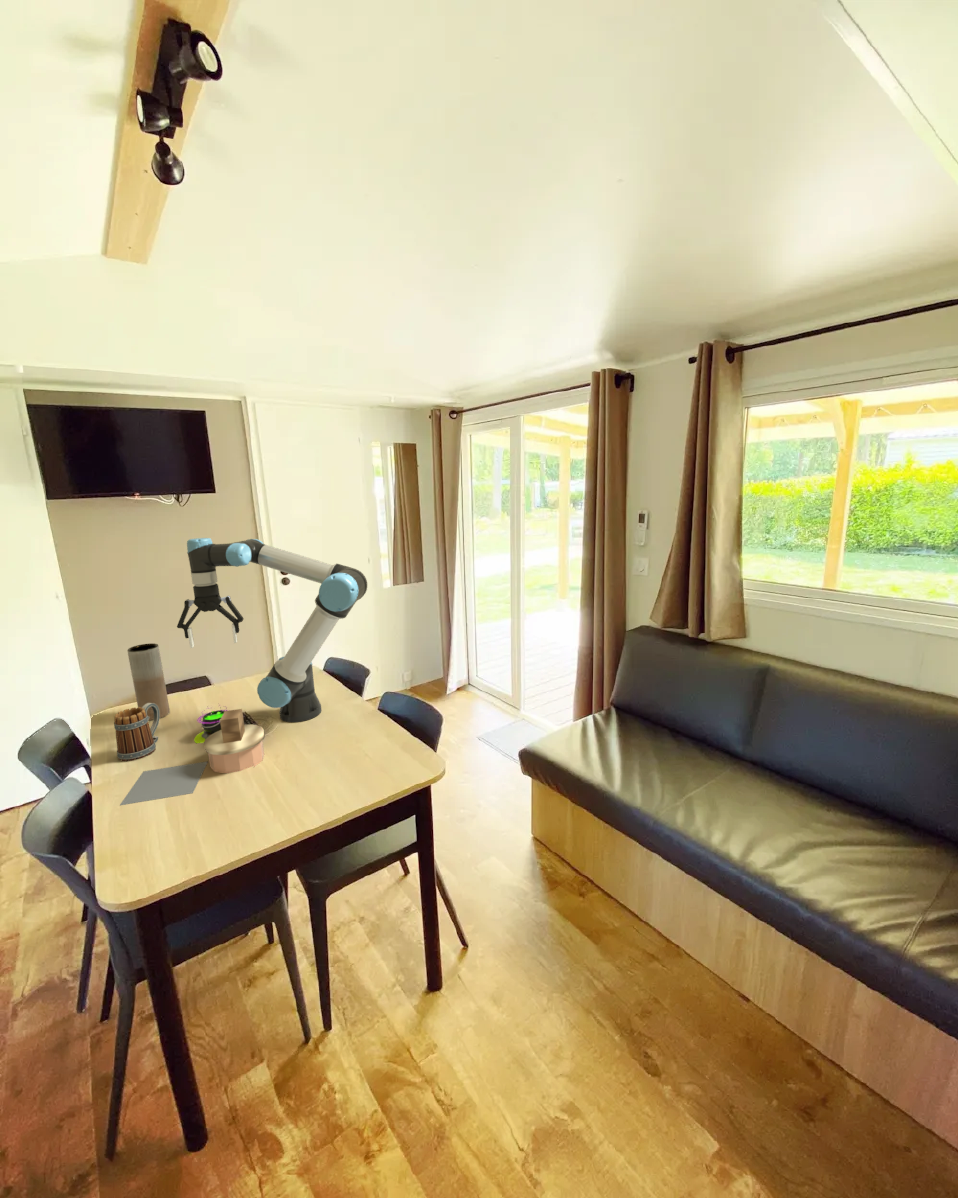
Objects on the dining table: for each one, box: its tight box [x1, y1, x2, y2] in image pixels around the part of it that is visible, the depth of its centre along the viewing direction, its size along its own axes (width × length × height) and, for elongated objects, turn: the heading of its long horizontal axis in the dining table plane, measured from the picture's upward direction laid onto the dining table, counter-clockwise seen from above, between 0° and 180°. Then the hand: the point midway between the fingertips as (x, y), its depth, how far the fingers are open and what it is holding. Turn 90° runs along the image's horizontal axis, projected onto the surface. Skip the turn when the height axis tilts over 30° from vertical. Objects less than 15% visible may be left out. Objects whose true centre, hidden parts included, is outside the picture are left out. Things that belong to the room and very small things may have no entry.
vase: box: [127, 643, 171, 722], centre depth 193 cm, size 10×10×28 cm
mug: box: [113, 703, 161, 762], centre depth 166 cm, size 16×11×15 cm
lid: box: [203, 708, 265, 755], centre depth 157 cm, size 17×17×9 cm
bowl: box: [207, 740, 265, 774], centre depth 159 cm, size 15×15×7 cm
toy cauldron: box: [193, 703, 230, 744], centre depth 177 cm, size 15×15×11 cm
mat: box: [119, 760, 209, 806], centre depth 148 cm, size 18×18×1 cm
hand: (214, 644), depth 174 cm, fingers open, 13 cm apart
